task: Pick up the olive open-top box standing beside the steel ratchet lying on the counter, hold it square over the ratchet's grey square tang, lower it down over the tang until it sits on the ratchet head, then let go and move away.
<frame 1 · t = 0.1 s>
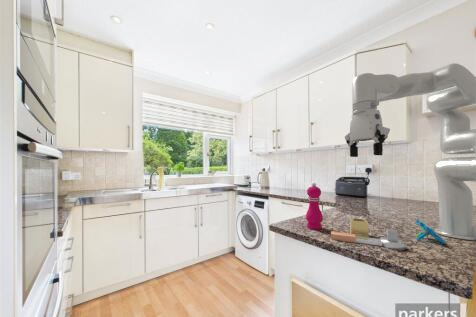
hand: (365, 156, 72), 31 cm above the counter, tool pointing down, fingers open, 9 cm apart
ratchet: (392, 246, 69), on the counter
pepper mill: (314, 228, 90), on the counter
olive open-top box: (359, 235, 80), on the counter
teal branched frame: (429, 241, 75), on the counter
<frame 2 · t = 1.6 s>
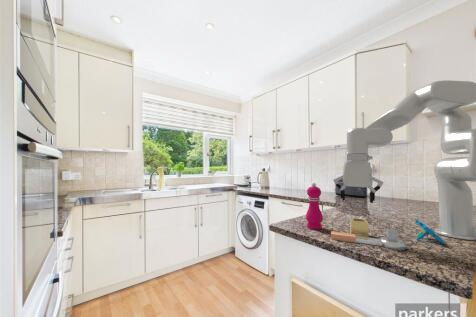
hand: (357, 201, 81), 13 cm above the counter, tool pointing down, fingers open, 9 cm apart
nothing on the counter moved.
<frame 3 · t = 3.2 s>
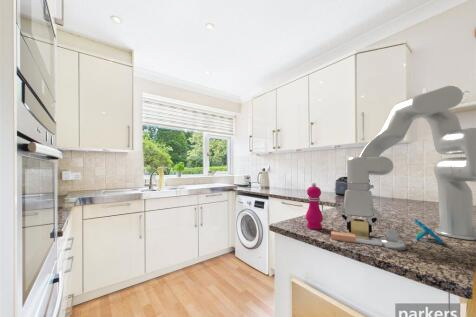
hand: (359, 232, 80), 1 cm above the counter, tool pointing down, fingers closed on olive open-top box, 5 cm apart
olive open-top box: (359, 235, 80), on the counter, touching gripper
everything else where it was.
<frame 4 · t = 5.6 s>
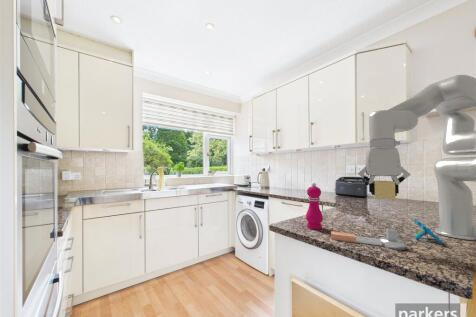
hand: (383, 194, 72), 17 cm above the counter, tool pointing down, fingers closed on olive open-top box, 5 cm apart
olive open-top box: (383, 197, 72), point 16 cm above the counter, touching gripper
everything else where it was.
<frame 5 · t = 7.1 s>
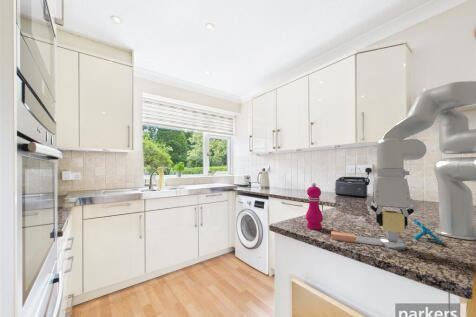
hand: (391, 226, 69), 7 cm above the counter, tool pointing down, fingers closed on olive open-top box, 5 cm apart
olive open-top box: (391, 229, 69), point 6 cm above the counter, touching gripper
everything else where it was.
when the fingers open (5 cm above the counter, at t = 8.1 s): olive open-top box drops 1 cm and tips over, resting on ratchet.
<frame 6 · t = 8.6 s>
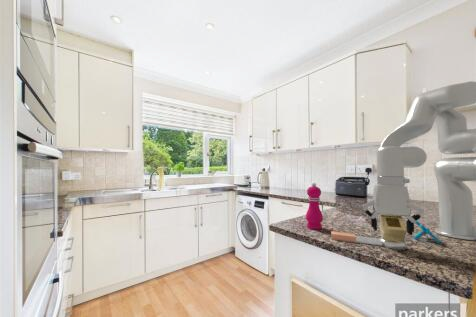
hand: (391, 231, 69), 5 cm above the counter, tool pointing down, fingers open, 9 cm apart
ratchet: (391, 245, 69), on the counter, touching olive open-top box
olive open-top box: (390, 233, 70), point 4 cm above the counter, tilted 38°, touching ratchet
everything else where it was.
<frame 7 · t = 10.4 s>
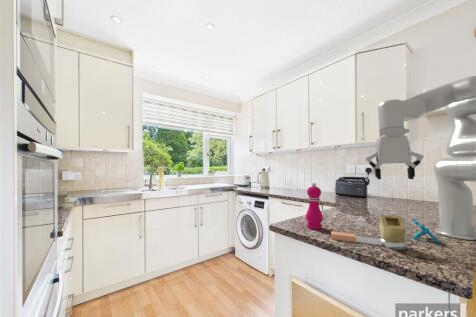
hand: (394, 179, 75), 23 cm above the counter, tool pointing down, fingers open, 9 cm apart
olive open-top box: (390, 234, 70), point 4 cm above the counter, tilted 30°, touching ratchet
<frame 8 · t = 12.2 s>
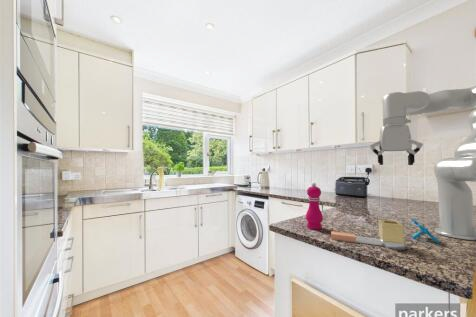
hand: (395, 164, 82), 28 cm above the counter, tool pointing down, fingers open, 9 cm apart
olive open-top box: (390, 239, 70), point 2 cm above the counter, touching ratchet
at the end: olive open-top box 0.4 cm off-centre on the ratchet, point 2.0 cm above the ratchet's base; olive open-top box tilted 0°; the gripper is holding nothing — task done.
